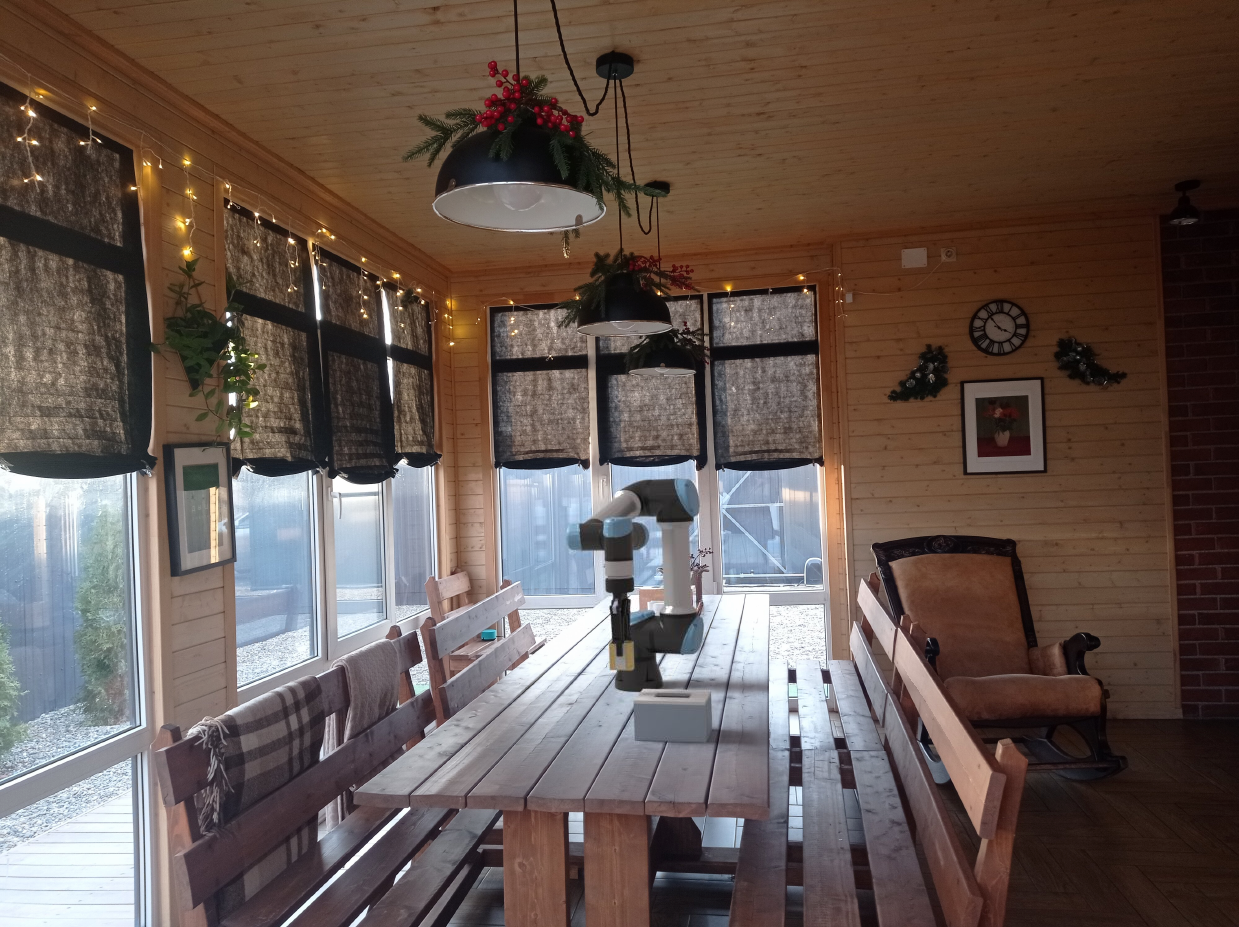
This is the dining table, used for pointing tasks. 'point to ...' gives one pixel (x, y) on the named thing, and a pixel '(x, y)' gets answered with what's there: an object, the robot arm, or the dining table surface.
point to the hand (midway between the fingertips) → (622, 667)
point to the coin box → (673, 715)
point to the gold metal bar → (628, 656)
